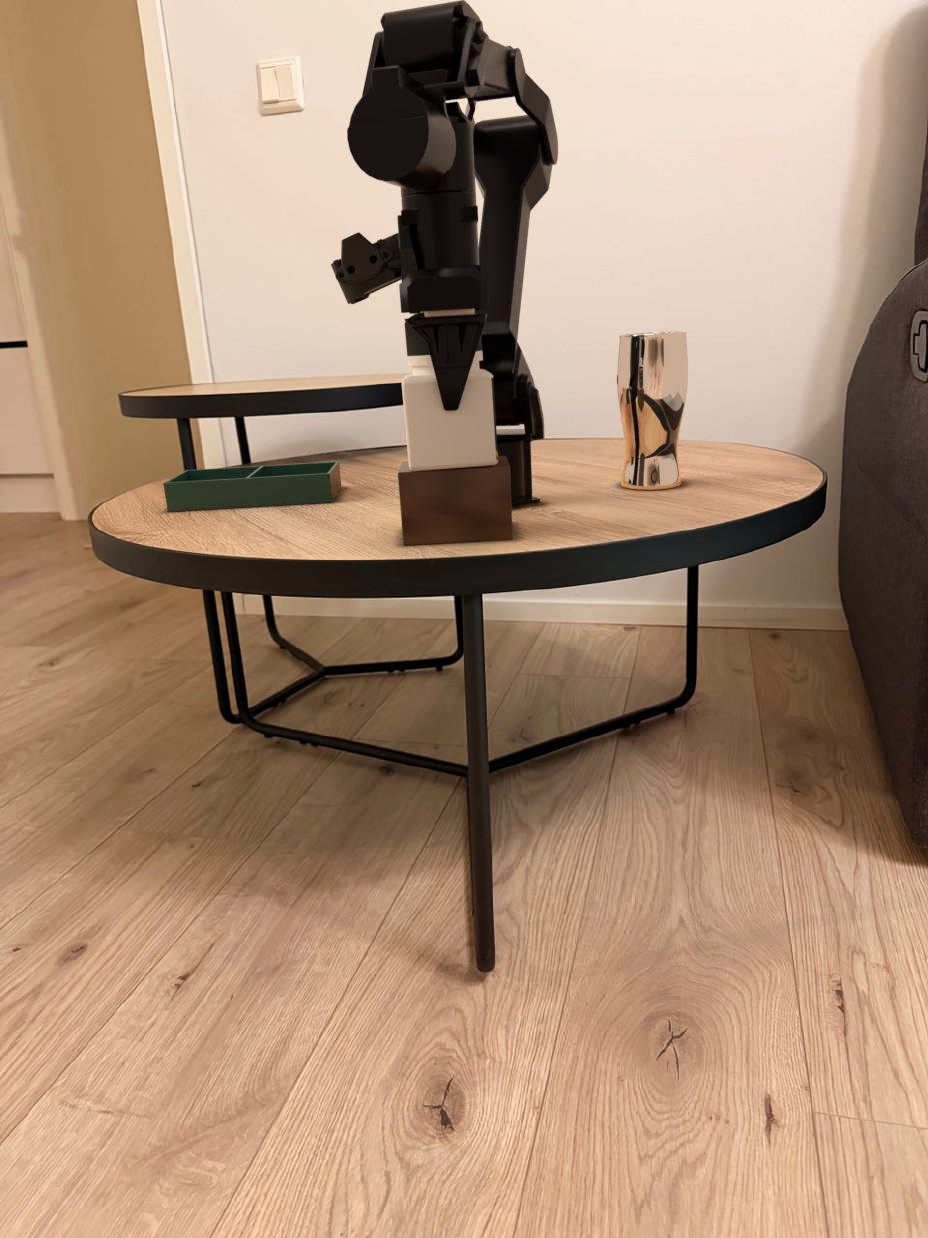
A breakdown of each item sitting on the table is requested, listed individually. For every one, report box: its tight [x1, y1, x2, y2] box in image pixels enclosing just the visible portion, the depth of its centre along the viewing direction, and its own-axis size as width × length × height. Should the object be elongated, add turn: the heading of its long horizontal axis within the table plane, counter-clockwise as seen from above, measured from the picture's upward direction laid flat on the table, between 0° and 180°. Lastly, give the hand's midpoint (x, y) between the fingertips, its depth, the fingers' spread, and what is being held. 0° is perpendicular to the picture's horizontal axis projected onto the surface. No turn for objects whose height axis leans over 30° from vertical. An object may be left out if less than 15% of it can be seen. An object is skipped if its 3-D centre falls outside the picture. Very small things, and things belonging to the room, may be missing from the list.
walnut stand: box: [397, 456, 514, 546], centre depth 77 cm, size 9×6×6 cm, turn 91°
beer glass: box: [616, 330, 689, 491], centre depth 93 cm, size 7×7×15 cm
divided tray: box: [163, 461, 342, 513], centre depth 99 cm, size 17×9×3 cm, turn 91°
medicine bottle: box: [401, 312, 498, 471], centre depth 74 cm, size 7×7×12 cm
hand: (450, 405), depth 75 cm, fingers closed on medicine bottle, 7 cm apart
